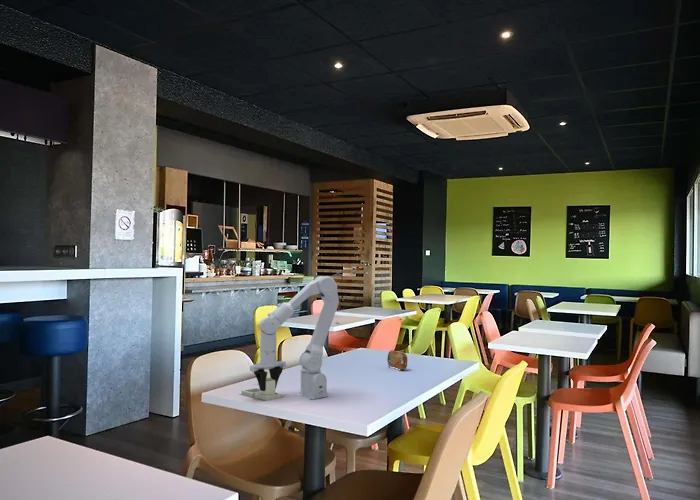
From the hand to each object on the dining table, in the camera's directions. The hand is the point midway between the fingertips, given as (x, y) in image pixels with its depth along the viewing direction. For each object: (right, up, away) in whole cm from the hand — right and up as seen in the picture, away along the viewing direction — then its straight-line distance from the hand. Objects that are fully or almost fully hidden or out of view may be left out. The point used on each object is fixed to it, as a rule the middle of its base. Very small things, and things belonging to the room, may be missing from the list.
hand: (268, 389), depth 194 cm
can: (-4, -5, +23) cm, 24 cm away
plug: (0, -3, 0) cm, 3 cm away
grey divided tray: (-3, -3, +3) cm, 5 cm away
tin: (+52, -7, +63) cm, 81 cm away
